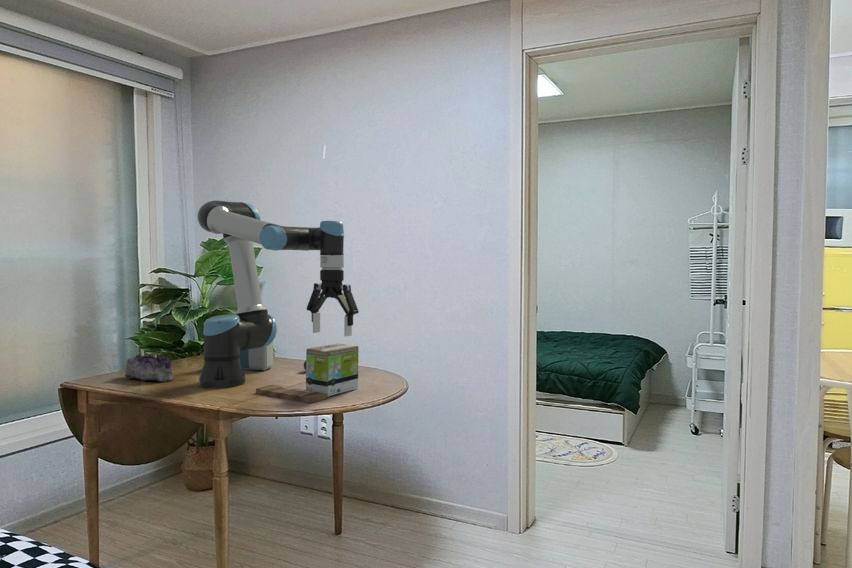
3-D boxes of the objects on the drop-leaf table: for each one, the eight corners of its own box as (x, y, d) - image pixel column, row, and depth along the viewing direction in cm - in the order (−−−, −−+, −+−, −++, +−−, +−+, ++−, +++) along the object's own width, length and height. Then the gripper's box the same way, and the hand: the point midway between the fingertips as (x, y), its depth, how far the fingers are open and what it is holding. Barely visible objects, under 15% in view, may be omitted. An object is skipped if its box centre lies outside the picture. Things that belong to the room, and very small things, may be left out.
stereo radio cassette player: (216, 369, 231) (215, 318, 230) (228, 365, 239) (227, 316, 238) (265, 371, 226) (264, 319, 226) (275, 367, 234) (275, 317, 234)
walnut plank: (256, 393, 191) (255, 388, 191) (272, 389, 197) (272, 384, 197) (310, 403, 178) (310, 397, 178) (326, 398, 184) (326, 393, 184)
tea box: (328, 398, 185) (328, 350, 184) (305, 394, 190) (304, 348, 189) (359, 388, 197) (359, 344, 197) (336, 385, 203) (336, 342, 202)
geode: (186, 378, 215) (184, 351, 213) (160, 389, 205) (157, 361, 203) (147, 371, 224) (144, 345, 222) (120, 381, 214) (117, 354, 212)
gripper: (295, 268, 195) (295, 332, 197) (354, 270, 182) (354, 338, 183) (311, 267, 202) (311, 329, 203) (369, 269, 188) (369, 336, 189)
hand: (331, 334), depth 193 cm, fingers open, 13 cm apart
